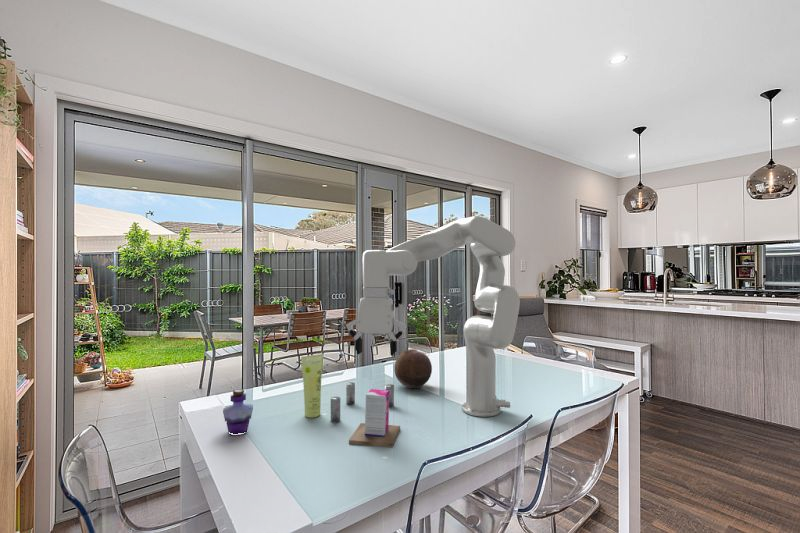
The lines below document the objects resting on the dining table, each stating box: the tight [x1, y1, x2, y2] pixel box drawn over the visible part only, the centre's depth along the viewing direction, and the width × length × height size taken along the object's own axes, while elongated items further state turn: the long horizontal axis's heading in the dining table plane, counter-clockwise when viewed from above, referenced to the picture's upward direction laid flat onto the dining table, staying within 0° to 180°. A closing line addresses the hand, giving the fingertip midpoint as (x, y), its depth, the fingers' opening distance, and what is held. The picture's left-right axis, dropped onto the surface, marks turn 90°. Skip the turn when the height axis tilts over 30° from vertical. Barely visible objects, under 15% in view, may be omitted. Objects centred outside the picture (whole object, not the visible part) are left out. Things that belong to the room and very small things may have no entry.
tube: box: [300, 353, 324, 418], centre depth 128 cm, size 6×5×20 cm
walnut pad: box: [348, 422, 401, 448], centre depth 112 cm, size 12×12×1 cm
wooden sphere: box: [394, 348, 433, 389], centre depth 159 cm, size 15×15×15 cm
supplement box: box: [364, 388, 390, 437], centre depth 112 cm, size 6×6×12 cm
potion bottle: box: [222, 389, 254, 434], centre depth 115 cm, size 9×9×12 cm
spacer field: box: [330, 381, 395, 423], centre depth 130 cm, size 17×19×7 cm
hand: (376, 353), depth 112 cm, fingers open, 9 cm apart
